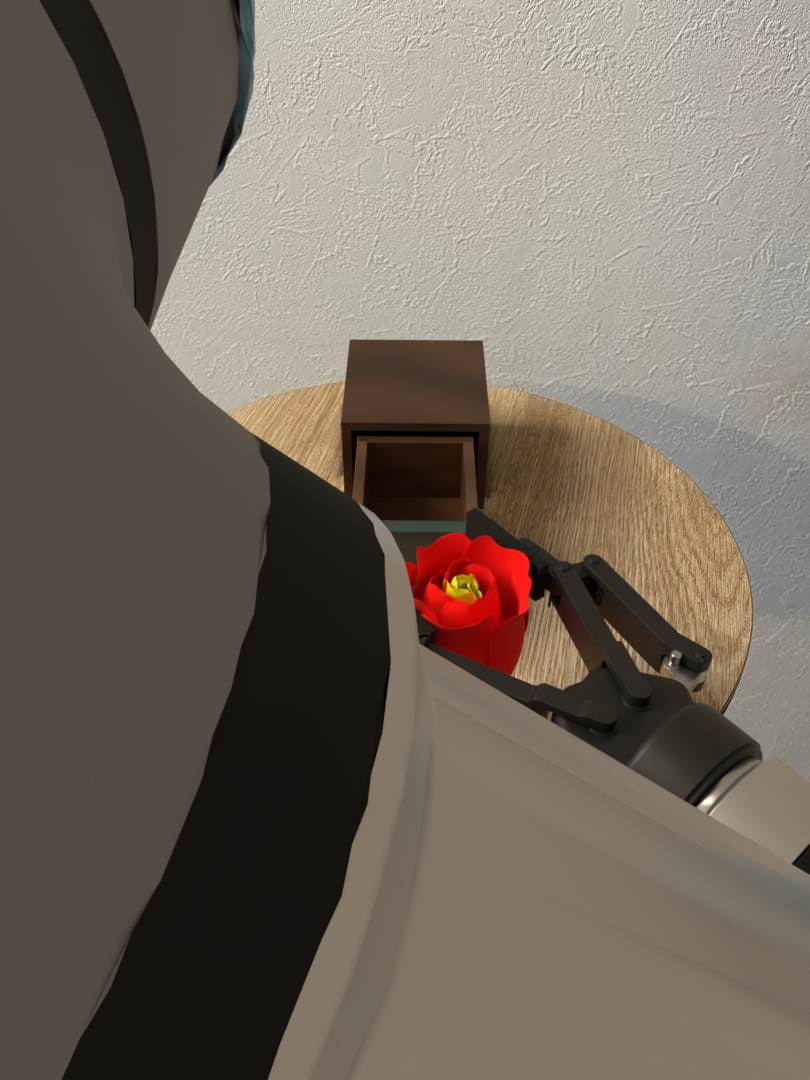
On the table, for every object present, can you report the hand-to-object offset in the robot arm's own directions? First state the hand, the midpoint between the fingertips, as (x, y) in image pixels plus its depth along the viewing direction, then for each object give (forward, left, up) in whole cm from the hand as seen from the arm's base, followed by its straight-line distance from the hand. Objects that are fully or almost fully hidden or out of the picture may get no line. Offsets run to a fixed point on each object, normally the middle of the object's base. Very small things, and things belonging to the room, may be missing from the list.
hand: (417, 554), depth 59 cm
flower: (-2, -4, -6) cm, 8 cm away
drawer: (+9, +5, -11) cm, 15 cm away
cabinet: (+21, +13, -12) cm, 27 cm away
